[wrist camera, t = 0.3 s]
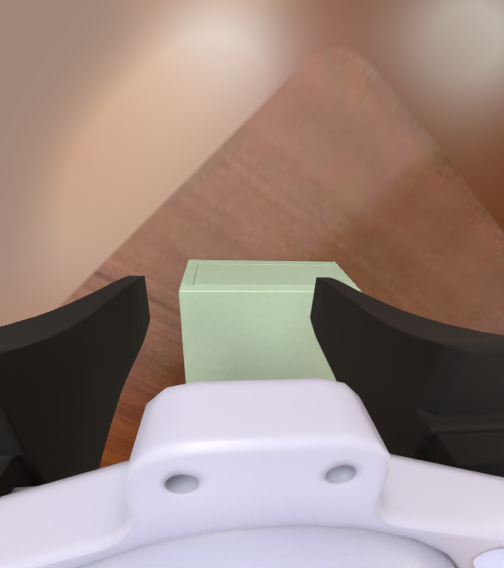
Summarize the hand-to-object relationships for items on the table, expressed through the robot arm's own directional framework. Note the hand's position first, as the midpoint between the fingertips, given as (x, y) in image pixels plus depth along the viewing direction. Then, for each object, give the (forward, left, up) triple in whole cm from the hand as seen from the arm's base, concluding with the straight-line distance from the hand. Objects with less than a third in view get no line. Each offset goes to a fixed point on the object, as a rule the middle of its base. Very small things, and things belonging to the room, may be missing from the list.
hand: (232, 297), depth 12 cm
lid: (-9, -3, -6) cm, 11 cm away
